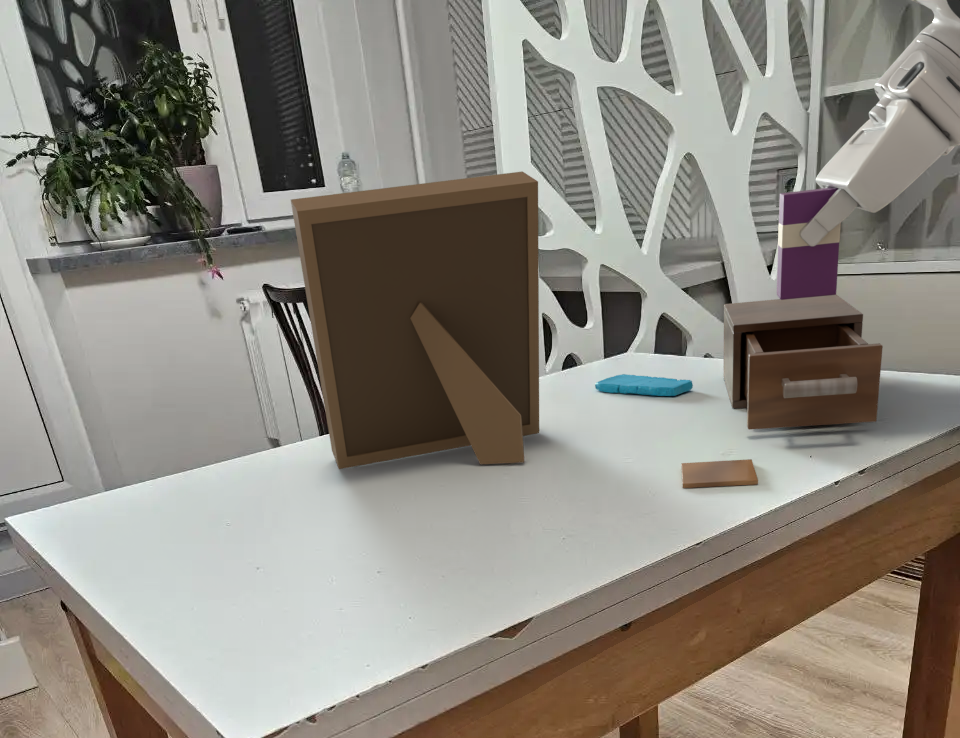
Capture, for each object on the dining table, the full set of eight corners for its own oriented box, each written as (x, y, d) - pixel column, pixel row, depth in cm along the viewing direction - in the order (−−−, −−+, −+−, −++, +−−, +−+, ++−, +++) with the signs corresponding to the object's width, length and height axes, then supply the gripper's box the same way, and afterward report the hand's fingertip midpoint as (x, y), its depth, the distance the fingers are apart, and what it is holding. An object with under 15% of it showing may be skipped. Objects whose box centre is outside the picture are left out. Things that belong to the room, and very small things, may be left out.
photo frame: (333, 459, 97) (285, 200, 86) (526, 425, 101) (504, 174, 90) (353, 496, 84) (300, 196, 73) (574, 455, 88) (556, 166, 77)
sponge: (660, 392, 104) (696, 376, 106) (590, 383, 113) (624, 368, 115) (662, 405, 104) (697, 389, 107) (592, 395, 114) (626, 380, 116)
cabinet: (857, 400, 95) (863, 313, 91) (732, 408, 97) (733, 325, 94) (831, 369, 109) (835, 293, 105) (723, 377, 112) (723, 304, 108)
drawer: (886, 433, 80) (893, 353, 77) (751, 441, 82) (753, 364, 79) (846, 386, 97) (851, 319, 94) (736, 394, 99) (737, 329, 96)
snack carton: (830, 289, 88) (836, 186, 84) (836, 294, 85) (842, 187, 81) (776, 295, 89) (779, 193, 85) (780, 300, 86) (783, 194, 82)
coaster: (751, 463, 79) (751, 459, 79) (757, 484, 74) (758, 479, 74) (681, 467, 81) (681, 463, 80) (682, 488, 75) (682, 483, 75)
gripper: (876, 85, 87) (766, 209, 93) (929, 67, 69) (789, 222, 75) (921, 131, 88) (810, 251, 94) (986, 126, 70) (843, 274, 76)
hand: (801, 239), depth 85 cm, fingers closed on snack carton, 3 cm apart
